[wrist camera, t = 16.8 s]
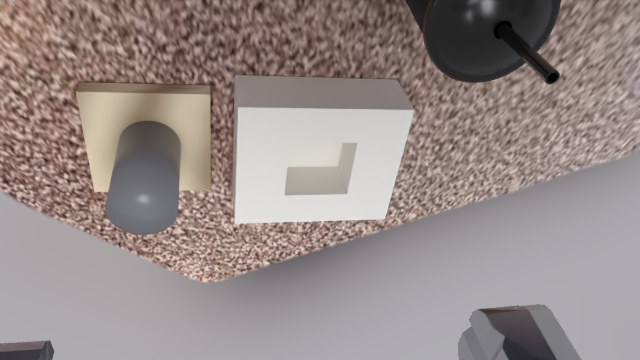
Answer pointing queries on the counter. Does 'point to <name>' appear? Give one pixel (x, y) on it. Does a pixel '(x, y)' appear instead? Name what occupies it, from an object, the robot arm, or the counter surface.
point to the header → (316, 147)
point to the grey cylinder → (145, 179)
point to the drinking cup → (486, 36)
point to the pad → (146, 105)
